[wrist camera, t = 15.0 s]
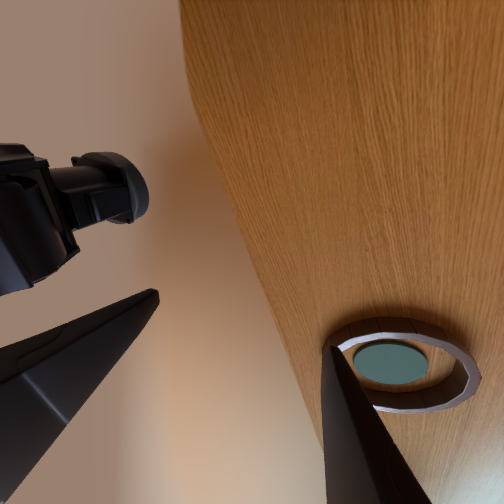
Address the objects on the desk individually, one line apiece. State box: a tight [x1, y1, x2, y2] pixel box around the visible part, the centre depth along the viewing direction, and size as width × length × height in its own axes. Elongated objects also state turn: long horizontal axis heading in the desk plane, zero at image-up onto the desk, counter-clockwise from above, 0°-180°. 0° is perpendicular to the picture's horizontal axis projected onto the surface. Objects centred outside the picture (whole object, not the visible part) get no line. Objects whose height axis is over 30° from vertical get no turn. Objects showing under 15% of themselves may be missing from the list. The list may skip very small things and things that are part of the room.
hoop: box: [322, 318, 482, 414], centre depth 24 cm, size 15×15×2 cm
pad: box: [353, 341, 428, 384], centre depth 24 cm, size 8×8×1 cm
